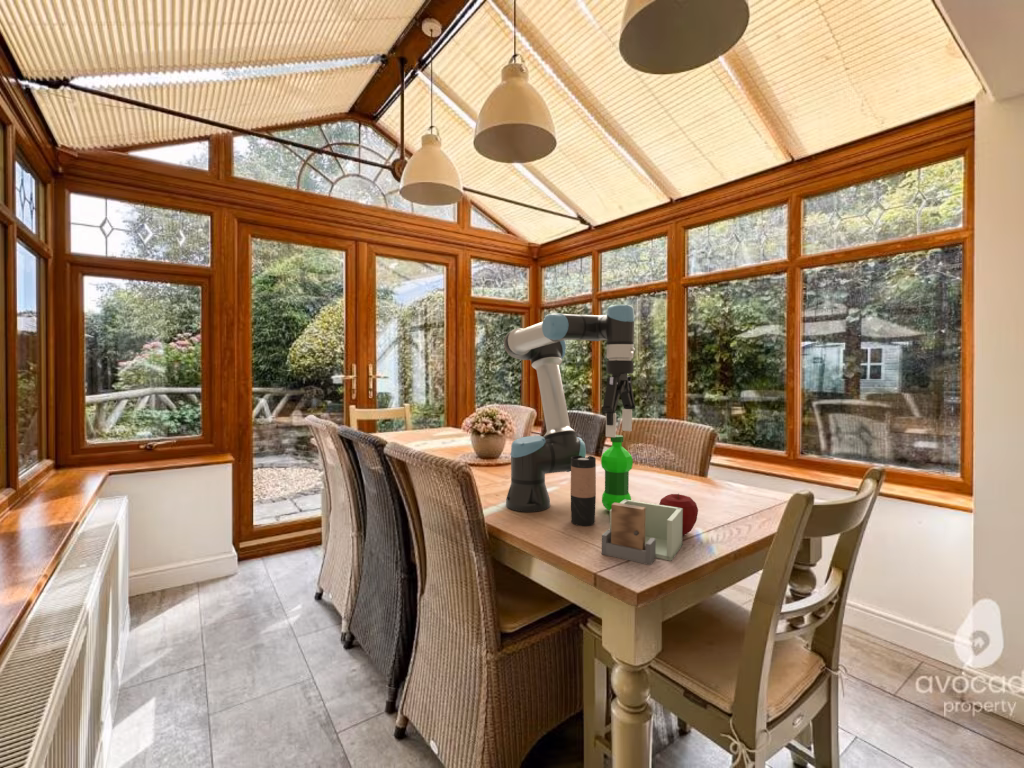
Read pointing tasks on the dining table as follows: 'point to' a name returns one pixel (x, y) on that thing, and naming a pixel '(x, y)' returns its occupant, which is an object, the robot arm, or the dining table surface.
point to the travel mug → (583, 490)
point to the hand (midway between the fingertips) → (619, 433)
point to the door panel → (628, 525)
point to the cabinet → (651, 535)
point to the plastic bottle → (616, 473)
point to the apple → (688, 509)
